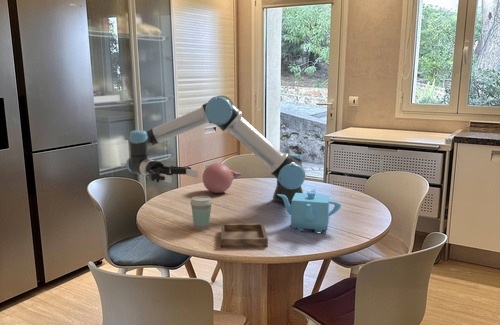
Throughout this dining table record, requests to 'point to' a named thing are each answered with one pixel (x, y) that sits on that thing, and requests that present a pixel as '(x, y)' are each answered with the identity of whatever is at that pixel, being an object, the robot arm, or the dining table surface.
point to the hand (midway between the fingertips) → (184, 176)
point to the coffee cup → (201, 211)
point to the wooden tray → (243, 235)
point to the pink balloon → (218, 177)
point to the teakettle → (310, 210)
